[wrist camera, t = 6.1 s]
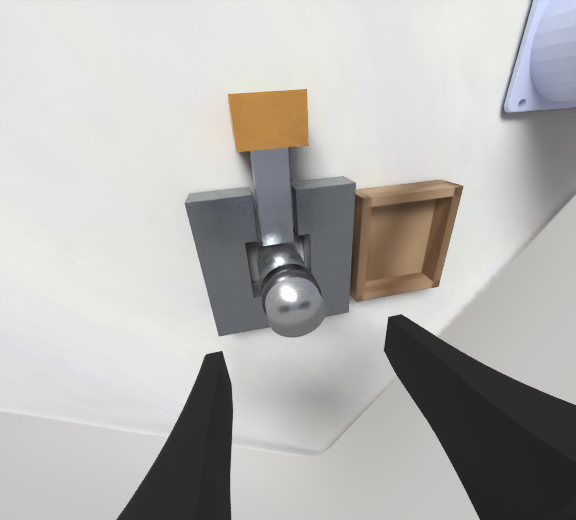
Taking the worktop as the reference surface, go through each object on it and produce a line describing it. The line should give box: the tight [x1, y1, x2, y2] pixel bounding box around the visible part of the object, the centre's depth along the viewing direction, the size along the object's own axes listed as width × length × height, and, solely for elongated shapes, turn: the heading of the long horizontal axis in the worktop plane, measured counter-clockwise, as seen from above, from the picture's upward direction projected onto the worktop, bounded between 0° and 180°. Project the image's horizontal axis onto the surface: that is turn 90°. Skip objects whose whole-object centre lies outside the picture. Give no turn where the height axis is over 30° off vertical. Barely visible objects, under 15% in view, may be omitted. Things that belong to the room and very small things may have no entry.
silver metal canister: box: [256, 241, 326, 337], centre depth 17 cm, size 3×3×7 cm
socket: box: [185, 176, 356, 336], centre depth 19 cm, size 10×10×2 cm
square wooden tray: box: [350, 180, 463, 302], centre depth 20 cm, size 7×8×2 cm
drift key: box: [228, 89, 308, 246], centre depth 15 cm, size 8×4×3 cm, turn 4°
